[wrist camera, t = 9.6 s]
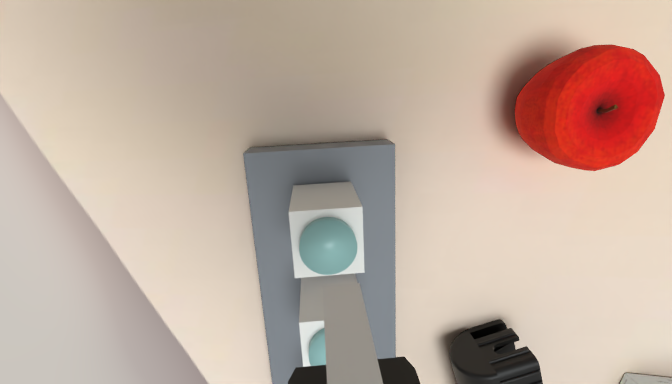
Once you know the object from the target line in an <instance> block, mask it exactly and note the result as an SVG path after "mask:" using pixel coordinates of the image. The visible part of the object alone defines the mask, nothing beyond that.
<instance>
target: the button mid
mask: <svg viewBox="0 0 672 384" xmlns="http://www.w3.org/2000/svg"><path fill="white" fill-rule="evenodd" d="M352 283H357V279H356V275H355V273H353V274H341V275H329V276H317V277H305V278H301V292H300V312H299V328H300V339H301V349H302V360H303V367H306V366H317V365H326V350H325V329H324V308H323V287H322V286H326V285H339V284H352Z"/></svg>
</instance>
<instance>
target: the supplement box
mask: <svg viewBox="0 0 672 384" xmlns="http://www.w3.org/2000/svg"><path fill="white" fill-rule="evenodd" d="M620 384H672V378H669V377H659V376H650V375H642V374H632V373H625V374H624V376H623V378H622V380H621V382H620Z"/></svg>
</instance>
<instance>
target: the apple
mask: <svg viewBox="0 0 672 384" xmlns="http://www.w3.org/2000/svg"><path fill="white" fill-rule="evenodd" d="M664 96H665V95H664V91H663V87H662V83H661V79H660V75H659V74H658V72H657V71H656V70H655V69H654V67H653V66H652V65H651V63H650V62H649V61H648V60H647V58H646V57H645V56H644V55H643V54H641V53H639V52H637V51H636V50H634V49H630V48H626V47H621V46H616V45H594V46H590V47H586V48H582V49H579V50H577V51H575V52H572V53H570V54H568V55H566V56H564V57H562V58H560V59H558V60H556V61H554V62H553V63H551V64H549V65H547V66H546V67H544V68H543V69H542V70H540V71H539V72H538V73H536V74H535V75H534V76H533V77H532V78H531V79H530V81H529V82H528V83H527V84H526V85H525V86H524V87H523V88H522V90H521V91H520V93H519V95H518V96H517V100H516V105H515V120H516V126H517V129H518V132H519V134H520V136H521V138H522V139H523V140H524V141H525V142H526V143H527V144H528V145H529V146H530V147H531V148H532V149H533V150H534V151H536V152H538V153H539V154H541V155H543V156H544V157H546V158H547V159H549V160H551V161H552V162H554V163H557V164H561V165H564V166H568V167H571V168H577V169H582V170H590V171H596V170H600V169H604V168H608V167H612V166H616V165H618V164H621V163H622V162H623V161H625V160H626V159H628V158H629V157H631V156H632V155H633V154H635V153H636V152H638V150H639V149H640V148H641V146H642V145H643V144H644V142H645V141H646V140H647V138H648V137H649V136H650V134H651V133H652V132H653V131H654V129H655V126H656V122H657V119H658V116H659V113H660V109H661V106H662V103H663V99H664Z"/></svg>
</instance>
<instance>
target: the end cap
mask: <svg viewBox="0 0 672 384" xmlns="http://www.w3.org/2000/svg"><path fill="white" fill-rule="evenodd" d="M516 341H519V337H518V336H517V335H516V333H515V332H514V331H513V330H512V329H511V328H509V329H507V327H506V325H505V323H504V322H503V321H502V320H495V321H492V322H489V323H486V324H483V325H479V326H476V327H473V328H470V329H467V330H465V331H463V332H462V333H461V334H460V335H459V336H458V337H456V338H455V339H454V341H453V342H452V344H451V346H450V351H449V355H450V360H451V364H452V367H453V371H454V375H455V378H456V382H457V384H543V383H542V377H541V372H540V366H539V363H538V361H537V359H536V357H535V356H534V354H533V353H532V352H531V351H530V350H529V349H528V347H527V346H526V347H523V348H520V349H517V350H515V345H514V342H516Z"/></svg>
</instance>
